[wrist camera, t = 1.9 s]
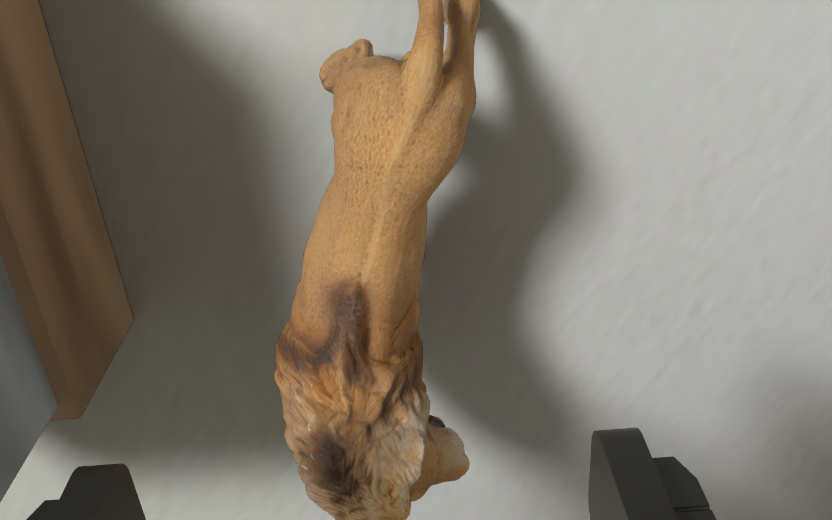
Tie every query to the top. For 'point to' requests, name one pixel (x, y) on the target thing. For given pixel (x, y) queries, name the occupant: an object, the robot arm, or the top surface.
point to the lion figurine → (376, 276)
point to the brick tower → (47, 249)
